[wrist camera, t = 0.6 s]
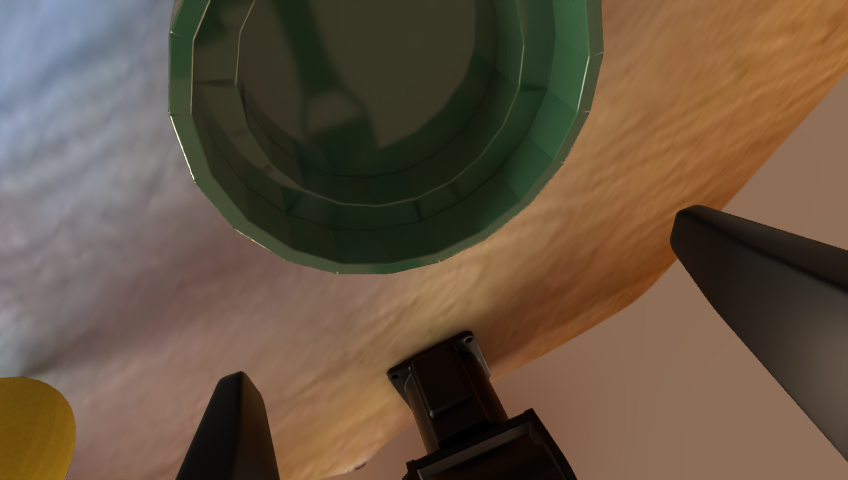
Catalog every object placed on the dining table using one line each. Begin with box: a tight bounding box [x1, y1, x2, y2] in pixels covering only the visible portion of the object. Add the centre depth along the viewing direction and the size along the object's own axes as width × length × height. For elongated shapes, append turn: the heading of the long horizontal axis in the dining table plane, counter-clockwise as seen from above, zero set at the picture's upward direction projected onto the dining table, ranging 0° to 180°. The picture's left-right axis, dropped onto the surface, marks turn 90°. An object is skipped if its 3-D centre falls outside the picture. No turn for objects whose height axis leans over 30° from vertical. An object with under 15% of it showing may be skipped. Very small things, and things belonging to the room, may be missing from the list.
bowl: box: [168, 0, 604, 274], centre depth 18 cm, size 14×14×5 cm
